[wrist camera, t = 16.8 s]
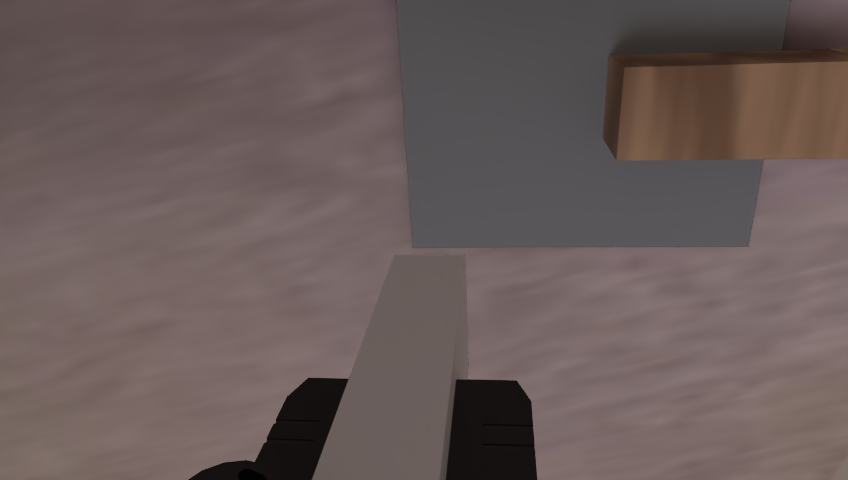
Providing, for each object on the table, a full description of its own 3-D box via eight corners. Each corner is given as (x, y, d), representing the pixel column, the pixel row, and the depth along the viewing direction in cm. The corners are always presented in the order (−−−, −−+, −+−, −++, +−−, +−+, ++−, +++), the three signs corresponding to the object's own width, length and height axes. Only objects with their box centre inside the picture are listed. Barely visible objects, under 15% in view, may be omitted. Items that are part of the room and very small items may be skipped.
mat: (414, 241, 39) (412, 247, 39) (394, -71, 32) (391, -73, 31) (742, 239, 37) (748, 246, 36) (798, -99, 30) (808, -101, 29)
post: (616, 160, 30) (877, 158, 29) (624, 67, 29) (903, 59, 27) (602, 138, 35) (830, 135, 33) (608, 55, 33) (849, 48, 31)
